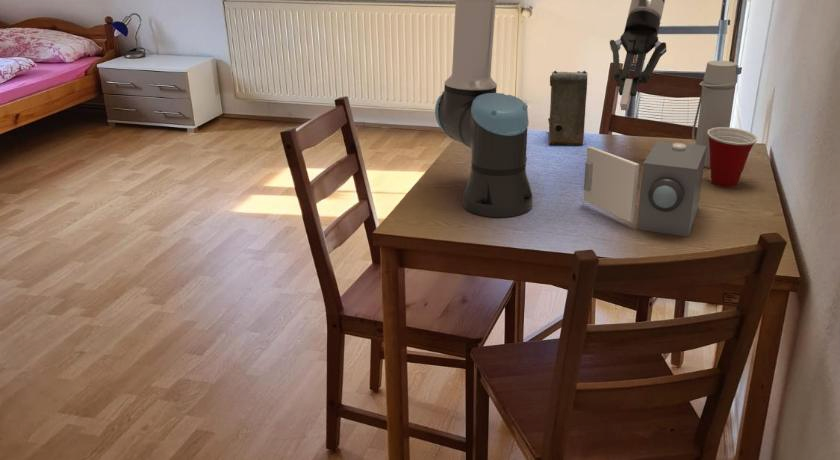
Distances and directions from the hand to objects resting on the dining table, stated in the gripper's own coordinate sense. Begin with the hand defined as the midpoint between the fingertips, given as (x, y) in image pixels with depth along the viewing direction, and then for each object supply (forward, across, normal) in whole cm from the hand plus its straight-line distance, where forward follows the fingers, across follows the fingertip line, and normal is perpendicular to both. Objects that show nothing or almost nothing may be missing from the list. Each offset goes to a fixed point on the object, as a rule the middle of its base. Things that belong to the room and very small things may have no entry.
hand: (623, 107), depth 173 cm
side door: (+26, -2, +3) cm, 27 cm away
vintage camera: (-9, +22, -36) cm, 43 cm away
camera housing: (+25, -14, -1) cm, 29 cm away
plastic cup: (+6, -22, -21) cm, 31 cm away
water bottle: (-3, -17, -31) cm, 35 cm away
